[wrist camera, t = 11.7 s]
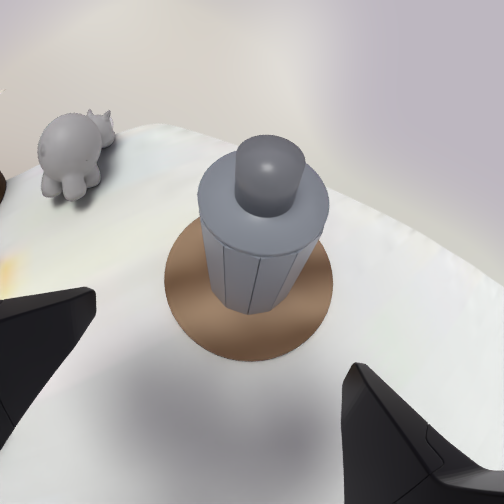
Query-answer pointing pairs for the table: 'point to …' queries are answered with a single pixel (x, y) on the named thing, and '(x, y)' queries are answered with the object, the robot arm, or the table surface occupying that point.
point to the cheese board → (238, 324)
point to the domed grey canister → (260, 221)
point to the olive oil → (2, 185)
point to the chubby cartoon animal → (73, 153)
